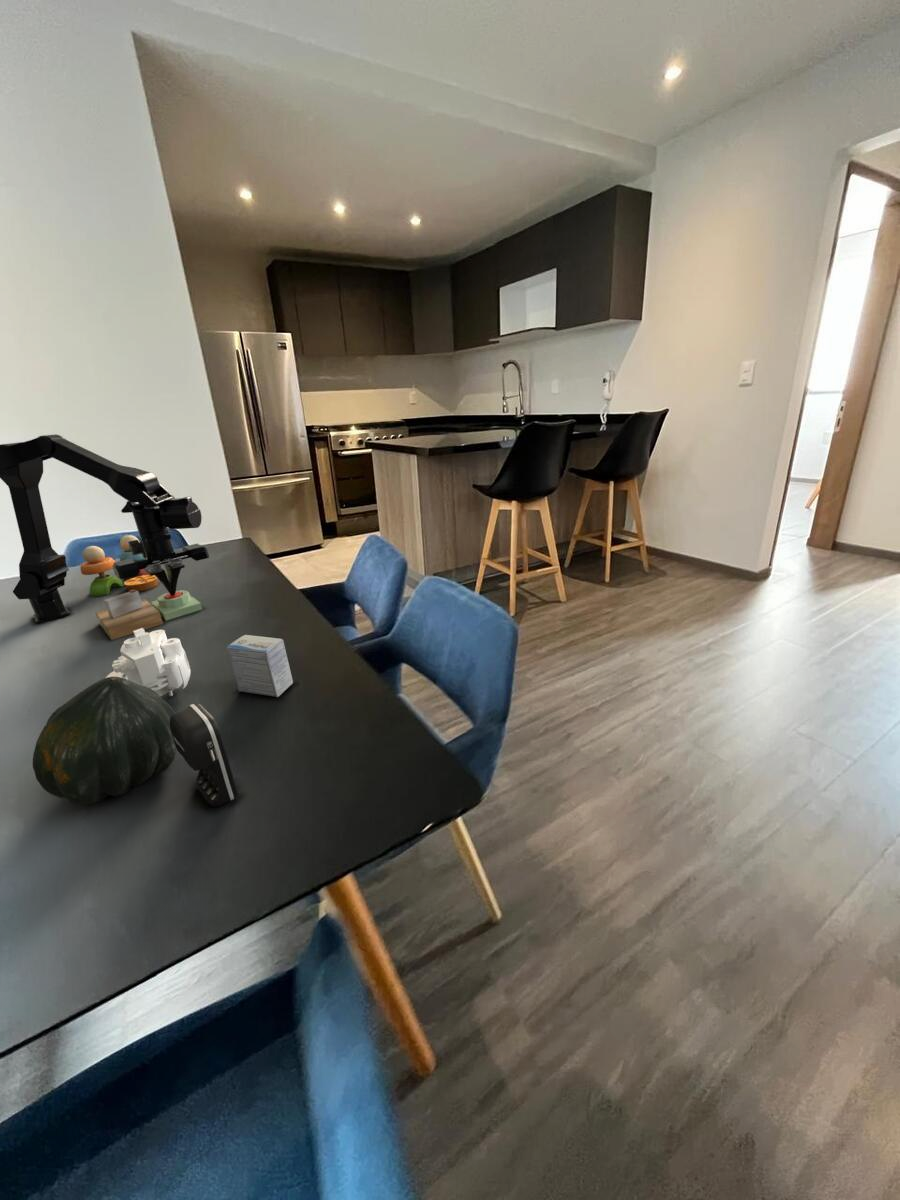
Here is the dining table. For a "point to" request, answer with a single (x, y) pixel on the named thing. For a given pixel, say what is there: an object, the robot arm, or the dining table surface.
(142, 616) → the block
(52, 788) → the squash
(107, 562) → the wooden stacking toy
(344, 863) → the dining table surface
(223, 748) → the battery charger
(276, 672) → the medicine box
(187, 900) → the dining table surface
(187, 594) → the box
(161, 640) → the mechanical part
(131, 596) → the grey block
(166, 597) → the button
